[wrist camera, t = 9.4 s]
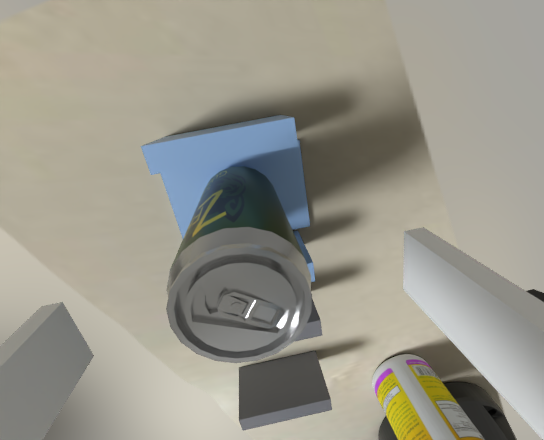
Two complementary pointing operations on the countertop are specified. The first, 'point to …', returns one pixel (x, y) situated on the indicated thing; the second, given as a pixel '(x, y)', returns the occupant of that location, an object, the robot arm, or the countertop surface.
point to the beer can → (239, 273)
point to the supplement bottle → (419, 402)
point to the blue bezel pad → (274, 165)
